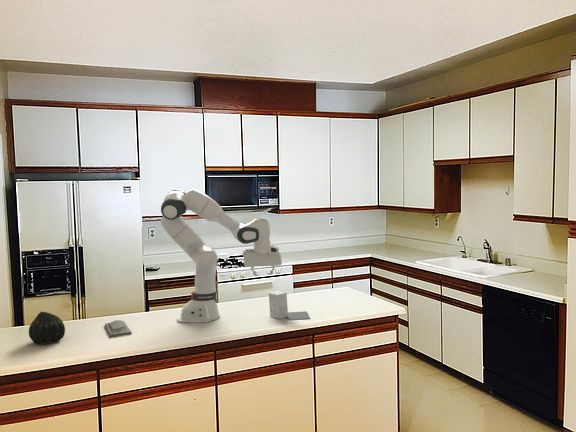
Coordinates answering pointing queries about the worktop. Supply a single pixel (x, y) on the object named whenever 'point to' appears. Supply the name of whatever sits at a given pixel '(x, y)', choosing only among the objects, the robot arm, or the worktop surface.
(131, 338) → the worktop surface
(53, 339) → the squash
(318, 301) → the worktop surface
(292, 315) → the mat
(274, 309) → the small box
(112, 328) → the soap mold
